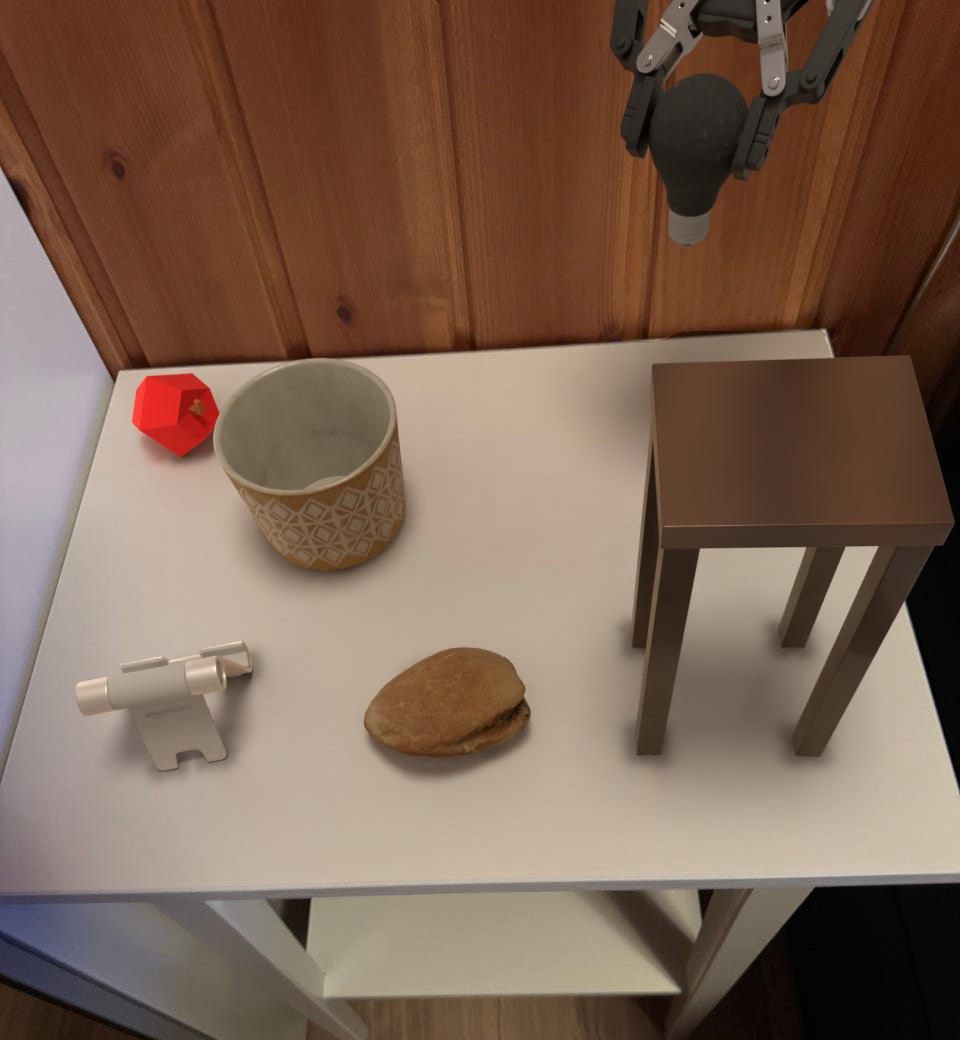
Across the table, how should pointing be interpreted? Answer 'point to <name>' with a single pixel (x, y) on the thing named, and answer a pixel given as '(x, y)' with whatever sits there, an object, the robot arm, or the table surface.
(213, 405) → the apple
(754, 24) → the robot arm
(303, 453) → the planter
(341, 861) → the table surface
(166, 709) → the tablet stand
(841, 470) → the walnut stand
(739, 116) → the light bulb
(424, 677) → the stone
